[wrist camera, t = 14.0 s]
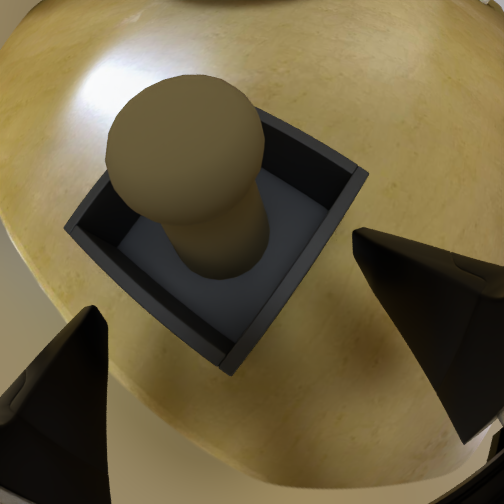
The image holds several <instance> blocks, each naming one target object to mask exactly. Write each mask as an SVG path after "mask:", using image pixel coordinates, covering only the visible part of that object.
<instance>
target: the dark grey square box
mask: <svg viewBox="0 0 504 504" xmlns="http://www.w3.org/2000/svg"><path fill="white" fill-rule="evenodd" d="M254 107H255V106H254ZM255 108H256V110H257V113H258V115H259V117H260V120H261V125H262V129H263V133H264V137H265V143H264V153H263V159H262V165H261V170H260V172H259V173H258V175H257V177H256V179H255V181H256V184H257V187H258V190H259V193H260V196H261V199H262V202H263V205H264V208H265V211H266V214H267V217H268V222H269V227H270V235H269V242H268V246H267V248H266V250H265V252H264V254H263V256H262V258H261V260H260V261H259V262H258V263H257V264H256V265H255V266H254V267H253V268H252V269H251V270H250V271H248V272H246V273H244V274H242V275H240V276H238V277H236V278H231V279H224V280H215V279H209V278H204V277H202V276H200V275H198V274H196V273H194V272H192V271H191V270H190V269H189V268H188V267H187V266H186V265H185V264H184V263H183V262H182V261H181V259H180V258H179V256H178V254H177V252H176V251H175V249H174V247H173V245H172V243H171V242H170V240H169V238H168V236H167V235H166V233H165V231H164V229H163V227H162V225H161V224H160V223H157V222H154V221H152V220H150V219H148V218H146V217H144V216H142V215H140V214H138V213H136V212H135V211H133V210H132V209H131V208H130V207H129V206H128V205H127V204H126V203H125V202H124V201H123V199H122V198H121V197H120V196H119V194H118V193H117V192H116V191H115V190H114V187H113V185H112V183H111V180H110V177H109V174H108V170H106V171H105V173H104V174H103V175H102V176H101V177H100V179H99V180H98V181H97V182H96V184H95V185H94V186H93V188H92V189H91V190H90V191H89V193H88V194H87V195H86V197H85V198H84V199H83V201H82V202H81V203H80V205H79V206H78V208H77V209H76V210H75V212H74V213H73V215H72V216H71V217H70V219H69V220H68V222H67V223H66V225H65V226H64V230H65V231H66V232H67V233H68V234H69V235H70V236H71V237H72V238H73V239H74V241H75V242H76V243H77V244H78V245H79V246H80V247H81V248H82V249H83V250H84V251H85V252H86V253H87V254H88V255H89V256H90V257H91V258H92V259H93V260H94V261H95V263H96V264H97V265H98V266H99V267H100V268H101V269H102V270H103V271H105V272H106V273H107V274H108V275H109V276H110V277H111V278H112V279H113V280H114V281H115V282H116V283H117V284H118V285H119V286H120V287H121V288H122V289H123V290H124V291H125V292H126V293H128V294H129V295H130V296H131V297H132V298H133V299H134V300H135V301H136V302H137V303H139V304H140V305H141V306H142V307H143V308H144V309H145V310H146V311H148V312H149V313H150V314H151V315H152V316H153V317H155V318H156V319H157V320H158V321H159V322H160V323H162V324H163V325H164V326H165V327H166V328H168V329H169V330H170V331H171V332H172V333H174V334H175V335H176V336H177V337H179V338H180V339H181V340H182V341H184V342H185V343H186V344H187V345H189V346H190V347H191V348H192V349H194V350H195V351H196V352H198V353H199V354H200V355H202V356H203V357H204V358H206V359H207V360H208V361H210V362H211V363H212V364H214V365H215V366H217V367H218V366H219V369H220V370H222V371H223V372H225V373H226V374H227V375H229V376H233V374H234V373H235V372H236V370H237V369H238V368H239V367H240V365H241V364H242V363H243V361H244V360H245V359H246V357H247V356H248V355H249V353H250V352H251V351H252V349H253V348H254V347H255V345H256V344H257V343H258V341H259V340H260V339H261V337H262V336H263V335H264V333H265V332H266V330H267V329H268V328H269V326H270V325H271V324H272V322H273V321H274V319H275V318H276V317H277V315H278V314H279V312H280V311H281V310H282V308H283V307H284V305H285V304H286V303H287V301H288V300H289V298H290V297H291V295H292V294H293V292H294V291H295V290H296V288H297V287H298V285H299V284H300V282H301V281H302V279H303V278H304V276H305V275H306V274H307V272H308V271H309V269H310V268H311V266H312V265H313V263H314V262H315V260H316V259H317V257H318V256H319V254H320V253H321V251H322V249H323V248H324V246H325V245H326V243H327V242H328V240H329V239H330V237H331V236H332V234H333V232H334V231H335V229H336V228H337V226H338V225H339V223H340V221H341V220H342V218H343V217H344V215H345V213H346V212H347V210H348V209H349V207H350V205H351V204H352V202H353V201H354V199H355V197H356V196H357V194H358V192H359V191H360V189H361V187H362V186H363V184H364V182H365V181H366V179H367V177H368V176H369V172H367V171H366V170H364V169H363V168H361V167H360V166H358V165H357V164H356V163H354V162H352V161H351V160H349V159H348V158H346V157H345V156H343V155H341V154H340V153H338V152H337V151H335V150H333V149H332V148H330V147H329V146H327V145H325V144H323V143H322V142H320V141H318V140H317V139H315V138H313V137H312V136H310V135H308V134H306V133H304V132H303V131H301V130H299V129H297V128H295V127H294V126H292V125H290V124H288V123H286V122H284V121H282V120H281V119H279V118H277V117H275V116H273V115H271V114H269V113H267V112H265V111H263V110H261V109H259V108H257V107H255Z"/></svg>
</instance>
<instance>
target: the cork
mask: <svg viewBox="0 0 504 504" xmlns="http://www.w3.org/2000/svg"><path fill="white" fill-rule="evenodd" d="M264 143H265V137H264V133H263V129H262V125H261V120H260V117H259V115H258V113H257V110H256V108H255V107H254V106H253V105H252V103H251V102H250V101H249V99H248V98H247V97H246V95H245V94H244V93H242V92H241V91H240V90H238V89H237V88H236V87H234V86H232V85H231V84H229V83H227V82H226V81H224V80H222V79H219V78H215V77H211V76H207V75H181V76H177V77H173V78H169V79H165V80H162V81H160V82H158V83H156V84H154V85H151V86H149V87H147V88H145V89H144V90H143V91H141V92H140V93H139V94H137V95H136V96H135V97H133V98H132V99H131V100H130V101H129V102H128V103H127V104H126V105H125V106H124V107H123V109H122V110H121V111H120V112H119V113H118V115H117V116H116V118H115V120H114V122H113V124H112V126H111V128H110V131H109V133H108V140H107V148H106V158H105V162H106V166H107V170H108V174H109V177H110V180H111V183H112V185H113V187H114V190H115V191H116V192H117V193H118V194H119V196H120V197H121V198H122V199H123V201H124V202H125V203H126V204H127V205H128V206H129V207H130V208H131V209H132V210H133V211H135V212H136V213H138V214H140V215H142V216H144V217H146V218H148V219H150V220H152V221H154V222H157V223H160V224H161V225H162V227H163V229H164V231H165V233H166V235H167V236H168V238H169V240H170V242H171V243H172V245H173V247H174V249H175V251H176V252H177V254H178V256H179V258H180V259H181V261H182V262H183V263H184V264H185V265H186V266H187V267H188V268H189V269H190V270H191V271H192V272H194V273H196V274H198V275H200V276H202V277H204V278H209V279H215V280H224V279H231V278H236V277H238V276H240V275H242V274H244V273H246V272H248V271H250V270H251V269H252V268H253V267H254V266H255V265H256V264H257V263H258V262H259V261H260V260H261V258H262V256H263V254H264V252H265V250H266V248H267V246H268V242H269V235H270V227H269V222H268V217H267V214H266V211H265V208H264V205H263V202H262V199H261V196H260V193H259V190H258V187H257V184H256V181H255V179H256V177H257V175H258V173H259V172H260V170H261V165H262V159H263V153H264Z"/></svg>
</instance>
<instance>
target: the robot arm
mask: <svg viewBox="0 0 504 504" xmlns="http://www.w3.org/2000/svg"><path fill="white" fill-rule="evenodd" d="M352 243H353V255H354V258H355V260H356V262H357V263H358V265H359V267H360V269H361V271H362V273H363V274H364V276H365V278H366V280H367V282H368V284H369V286H370V287H371V289H372V291H373V293H374V294H375V296H376V297H377V299H378V300H379V302H380V303H381V305H382V306H383V308H384V309H385V311H386V312H387V314H388V315H389V317H390V318H391V320H392V321H393V323H394V324H395V326H396V327H397V329H398V330H399V332H400V334H401V335H402V337H403V338H404V340H405V341H406V343H407V345H408V346H409V348H410V349H411V351H412V353H413V354H414V356H415V358H416V359H417V361H418V363H419V364H420V366H421V368H422V369H423V371H424V373H425V374H426V376H427V378H428V379H429V381H430V383H431V385H432V386H433V388H434V390H435V392H436V394H437V396H438V397H439V399H440V401H441V403H442V405H443V407H444V408H445V410H446V412H447V414H448V416H449V418H450V420H451V422H452V424H453V426H454V428H455V429H456V431H457V433H458V435H459V437H460V439H461V441H462V443H463V445H465V444H466V443H467V442H469V441H470V440H471V439H473V438H474V437H475V436H477V435H478V434H479V433H481V432H482V431H483V430H484V429H486V428H487V427H488V426H489V425H490V424H492V423H493V422H494V421H495V420H496V419H497V418H498V419H499V421H500V422H501V424H502V426H503V428H501V429H500V430H499V431H498V432H497V433H496V434H495V435H493V438H492V442H491V447H490V451H489V455H488V459H487V463H486V464H485V465H484V466H483V467H481V468H480V469H479V470H478V471H476V472H475V473H474V474H472V475H471V476H470V477H468V478H467V479H466V480H464V481H463V482H462V483H460V484H458V485H457V486H456V487H454V488H453V489H451V490H450V491H448V492H447V493H445V494H444V495H442V496H440V497H439V498H437V499H435V500H434V501H432V502H431V503H429V504H504V267H503V266H499V265H496V264H492V263H488V262H484V261H480V260H477V259H473V258H470V257H466V256H463V255H460V254H457V253H453V252H451V253H450V251H447V250H444V249H440V248H437V247H434V246H430V245H427V244H423V243H420V242H416V241H413V240H409V239H406V238H402V237H399V236H395V235H392V234H388V233H384V232H380V231H377V230H373V229H369V228H365V227H362V228H359V229H356V230H354V231H353V233H352ZM107 382H108V324H107V322H106V320H105V319H104V317H103V316H102V314H101V313H100V311H99V310H98V308H97V307H96V306H94V305H91V306H87V307H84V308H83V309H82V310H81V311H80V312H79V313H78V314H77V315H76V316H75V317H74V318H73V319H72V320H71V321H70V322H69V323H68V324H67V325H66V326H65V327H64V328H63V329H62V330H61V331H60V333H58V334H57V336H55V337H54V339H53V340H52V341H51V342H50V343H49V344H48V345H47V346H46V347H45V348H44V349H43V350H42V351H41V352H40V353H39V355H38V356H37V357H36V358H35V359H34V360H33V361H32V362H31V363H30V365H29V366H28V367H27V368H26V369H25V370H24V371H23V372H22V373H21V375H20V376H19V377H18V378H17V379H16V380H15V381H14V382H13V384H12V385H11V386H10V387H9V388H8V389H7V390H6V391H5V392H4V393H3V394H2V396H1V397H0V504H111V496H110V487H109V476H108V462H107V435H106V410H107V407H106V405H107Z"/></svg>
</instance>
